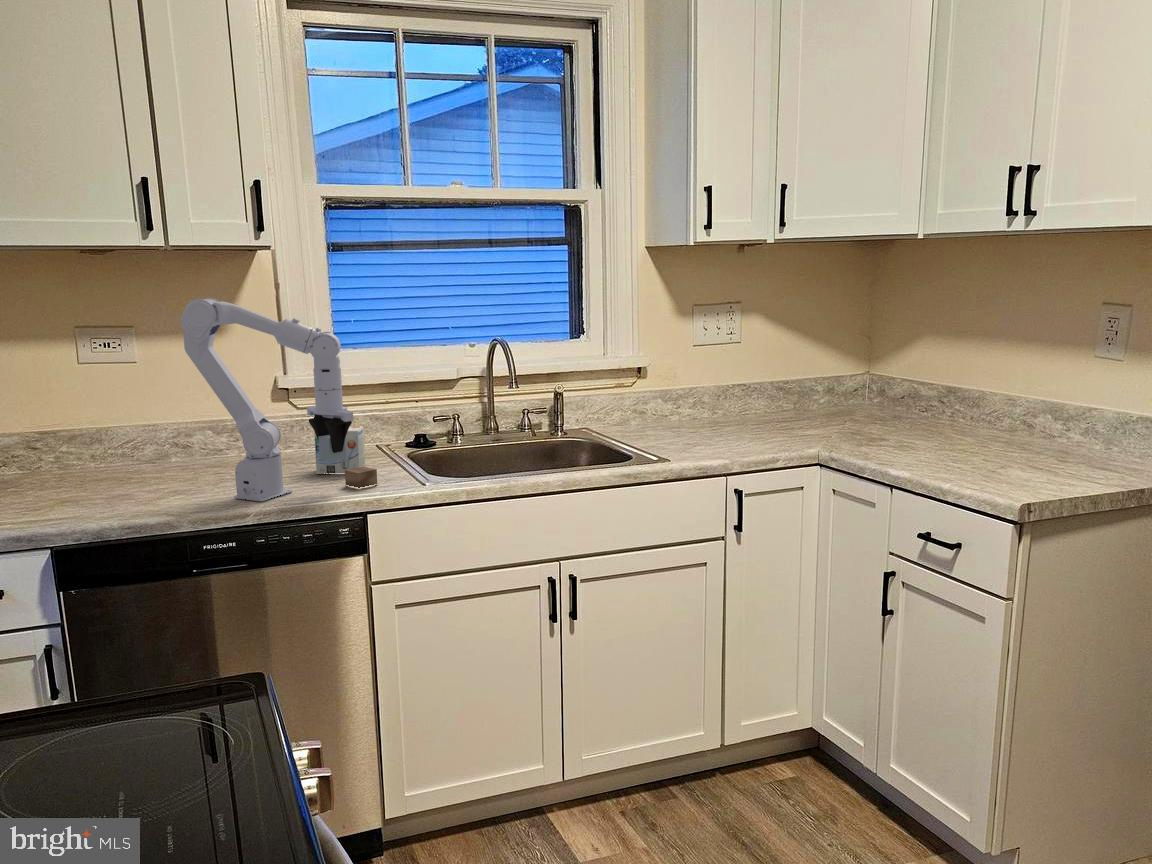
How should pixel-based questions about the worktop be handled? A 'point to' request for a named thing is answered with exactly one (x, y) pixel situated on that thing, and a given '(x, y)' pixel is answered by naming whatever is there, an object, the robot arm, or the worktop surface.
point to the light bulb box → (353, 453)
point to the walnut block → (361, 476)
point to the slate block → (329, 450)
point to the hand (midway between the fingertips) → (331, 450)
